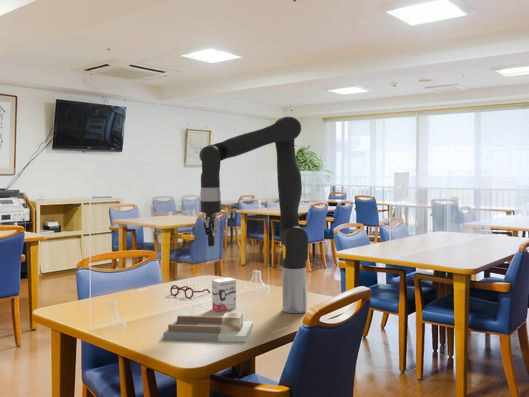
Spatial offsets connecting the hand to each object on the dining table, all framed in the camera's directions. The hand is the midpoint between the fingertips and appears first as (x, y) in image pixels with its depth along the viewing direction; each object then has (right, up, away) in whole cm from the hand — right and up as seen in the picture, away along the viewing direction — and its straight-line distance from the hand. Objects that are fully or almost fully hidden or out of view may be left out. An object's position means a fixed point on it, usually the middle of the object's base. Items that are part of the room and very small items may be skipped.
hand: (211, 246), depth 192 cm
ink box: (+4, -26, +13) cm, 30 cm away
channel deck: (+1, -28, -16) cm, 33 cm away
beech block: (+9, -26, -18) cm, 33 cm away
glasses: (-13, -26, +38) cm, 48 cm away
